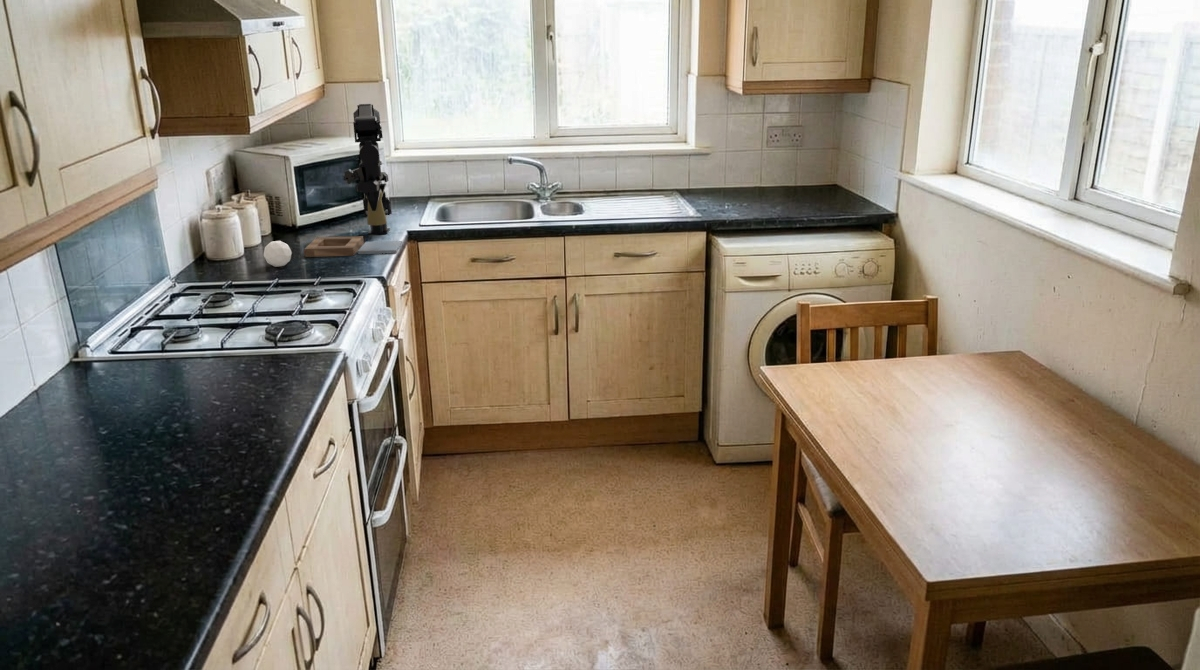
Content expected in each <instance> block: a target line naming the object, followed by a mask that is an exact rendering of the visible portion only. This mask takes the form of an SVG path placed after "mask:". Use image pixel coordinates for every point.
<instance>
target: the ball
mask: <svg viewBox="0 0 1200 670" xmlns="http://www.w3.org/2000/svg"><path fill="white" fill-rule="evenodd" d="M263 258H264V259H265V261H266V262H267V264H269V265H271V266H273V267H275V268H277V267H278V268H279V267H284V266H286V265H287V264H288V263H289V262H290V261H291V259H292V250H291V247H290V246H289V244H287V243H285V242H283V241H281V240H275V241H270V242H269V243H268V244H266V246H264V251H263Z"/></svg>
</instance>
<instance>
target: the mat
mask: <svg viewBox="0 0 1200 670" xmlns="http://www.w3.org/2000/svg"><path fill="white" fill-rule="evenodd" d="M403 245H404V242H403V240H382V241H380V240H379V241H376V240H375V241H364V244H363V245H362V246H361V248H360V249H359V250H358V251H357V255H377V254H378V255H379V254H380V255H383V254H384V255H385V253H387V254H397V253H398V252H399V250H400V249H401V247H402V246H403ZM382 253H383V254H382Z"/></svg>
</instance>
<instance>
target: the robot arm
mask: <svg viewBox="0 0 1200 670" xmlns="http://www.w3.org/2000/svg"><path fill="white" fill-rule="evenodd" d="M356 107H357V109H356V110H355V111H354V112H353V114H352V115H353V123H352V125H353V134H354V135H353V136H354V143H359V144H358V147H359V150H358V152H359V153H358V154H359V155H358V156H359V158H360V163H359V164H358V168H357V167H356V168H354V169H348V170H345V171H344V173H343V174H342V176H343V180H344V181H345V182H346V184H347V185H351V184H352V183H353V182H356V181H359V182H358V183H356V186H355V188H356V192H357V193H362V194H364V198H362V203H363V212H364V213H363V214H364V217H365V218H366V217H368V201H369V204H370V206H371V209H372V211H376V208H377V204H378V200H379V196H380V192H381V191H382V194H383V195H382V198H381V200H382V204H383V208H384V212H385V217H386V218H387V216H390V215H392V212H393V211H392V203H391V202H392V201H391V200H390V199H389V197H387V195H386V194H387V193H386V192H385V189H386V186H387V182H389V174H387V172H385V171H382V169H381V166H382V164H383V163H382V162H383V161H381V158H380V150H379V149H380V148H379V143H378V142H382V139H383V138H384V137H383V129H382V128H383V127H382V124H381V117H380V111H378V110H377V109H376V108H374V104H372V103H359V104H358V105H357V106H356ZM382 182H384V183H382ZM366 196H367V198H366ZM387 220H388V219H386V221H387ZM369 229H370V230H369V231H368V232H367V234H368V235H387V234H388V233H389V232H390V231H391V228H389V227H388V223H386V224H383V225H369Z"/></svg>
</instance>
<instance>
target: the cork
mask: <svg viewBox="0 0 1200 670" xmlns="http://www.w3.org/2000/svg"><path fill="white" fill-rule="evenodd" d="M382 195H383V194H382V191H381V192H380V196H379V200H378V204H377V208H376V211H372V209H371V206H370V204H369V201H368V211H367V212H368V216H367V223H366V224H367V225H368V226H370V225H383V224H386V223H387V221H386V220H387V216H386V217H385V212H384V208H383V204H382V200H381V198H382ZM366 198H367V196H366ZM387 224H388V223H387Z"/></svg>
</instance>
